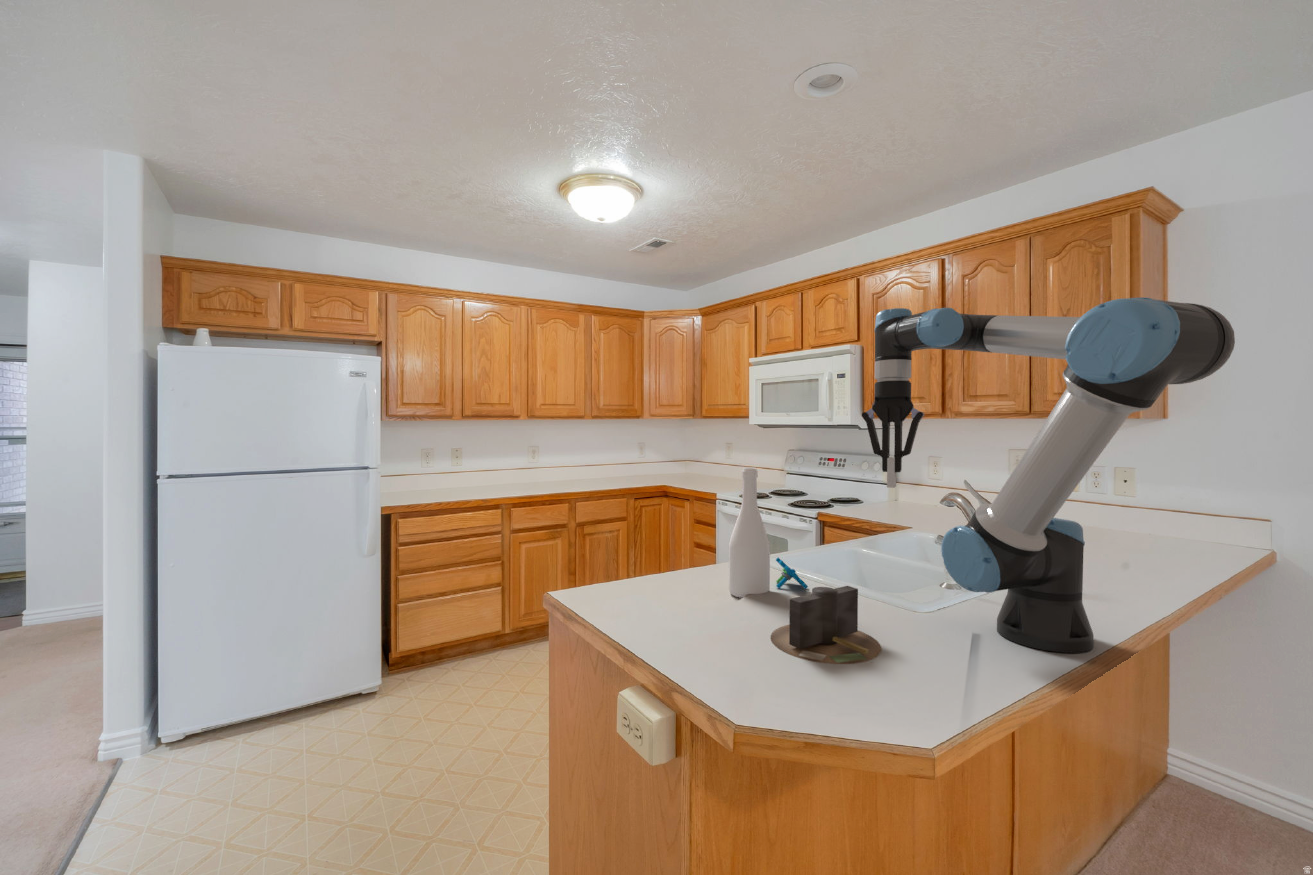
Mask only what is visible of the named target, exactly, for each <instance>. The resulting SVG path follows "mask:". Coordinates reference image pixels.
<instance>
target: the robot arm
mask: <svg viewBox="0 0 1313 875" xmlns="http://www.w3.org/2000/svg"><path fill="white" fill-rule="evenodd" d="M874 323H875V324H874V325H875V326H874V330H873V332H874V380H877V381H876V382H875V383H874V400H873V403H872V404H871V408H870V409H868V410H867V411H863V412H862V413H861V417H862V418H863V420H864V421H865V423H866V427H867V431H868V436H869V438H870V443H871V448H872V452H873V454H874V455H877V456H880V457H881V458H882V459H881V461H882V462H881V466H882V467H881V470H882V472H883V473H886V488H892V489H893V488H895V489H896V487H897V473H901V472H902V466H903V465H902V462H903V461H902V460H903V457H905V456H908V455H910V454H911V453H912V448H913V445H914V442H915V439H916V436H917V430H918V427H919V423H920V422H921V421H922V419H923V418H924V416H925V412H923V411H920V410H918V409H916V408H915V406H914V403H913V401H912V382H911V381H910V379H912V359H913V358H912V352H914V351H920V350H927V349H928V350H930V349H932V350H947V351H948V350H951V351H969V352H980V353H991V354H992V353H995V354H1003V355H1005V354H1006V355H1015V356H1017V355H1018V356H1025V357H1038V358H1046V359H1059V360H1065V361H1066V363H1067V366H1066V368H1065V369H1064V370H1063V372H1062V378H1063V380H1064V382H1065V384H1066V389H1065V390H1064V392H1063V393H1062V395H1061V396H1060V397H1059V399H1058V401H1057V402H1056V404H1055V405H1054V407H1053V409H1052V410H1051V411H1050V413H1049V414H1048V417H1047V418H1045V419H1046V420H1045V421H1044V422H1043V424H1042V426H1041V427H1040V429H1039V430H1038V431H1037V433H1036V435H1035V437H1034V438H1033V440H1032V441H1031V443H1030V444H1029V445H1028V447H1027V449H1026V450H1025V452H1024V453H1023V455H1022V456H1021V457H1020V458H1021V459H1019V462H1018V463H1017V464H1016V466H1015V467H1014V469H1013V471H1012V472H1011V473H1010V475H1009V477H1008V479H1007V480H1006V481H1005V483H1004V484H1003V486H1002V487H1001V489H1000V490H999V492H998V493H997V495H996V497H995V499H994V500H993V502H992V503H984V504H980V505H979V506H978V507H977V508H976V510H975V511H974V513H973V514H972V516H971V517H970V519H969V520H968V522H967V524H965V525H956V526H955V527H952V528H950V529H949V530H948V531H947V532H946V533H945V534H944V536H943V538H942V541H941V548H940V549H941V550H940V552H941V557H942V560H943V564H944V566H945V569H946V570H947V573H948V574H949V576H950V577H951V579H953V581H954V582H955V583H956V584H957V585H958V586H959V587H961V588H963V589H965V590H966V591H969V592H972V593H973V592H974V593H988V594H989V593H994V592H998V591H1005V590H1007V593H1006V595H1005V598H1004V601H1003V603H1002V605H1001V607H1000V611H999V612H998V614H997V618H996V632H997V633H998V634H999V635H1000V636H1002V637H1003V638H1005V639H1007V640H1009V641H1011V642H1013V643H1015V644H1019V645H1023V646H1024V647H1025V646H1026V647H1029V648H1033V649H1037V650H1042V651H1046V652H1047V651H1049V652H1054V653H1065V654H1066V653H1067V654H1071V653H1073V654H1077V653H1078V654H1079V653H1085V652H1088V651H1091V650H1093V648H1094V639H1095V638H1094V632H1093V628H1092V627H1091V624H1090V620H1089V618H1088V615H1087V613H1086V610H1085V606H1084V604H1083V590H1084V588H1083V584H1084V582H1083V581H1084V580H1083V579H1084V547H1085V543H1086V542H1085V540H1084V529H1083V526H1082V525H1081V524H1080V523H1078V522H1076V521H1075V520H1070V519H1065V518H1057V517H1055V516H1056V515H1057V513H1058V512H1059V511H1060V509H1061V508H1062V507H1063V506H1064V504H1065V503H1066V501H1067V500H1068V498H1069V497H1070V496H1071V495H1072V493H1073V492H1074V491H1075V489H1076V488H1077V486H1078V485H1079V484H1080V482H1081V481H1082V479H1083V478H1084V477H1085V476H1086V474H1087V473H1088V471H1090V469H1091V467H1092V466H1093V465H1094V463H1095V462H1096V461H1097V459H1098V458H1099V457H1100V456H1101V454H1102V453H1103V452H1104V450H1105V448H1106V447H1107V446H1108V444H1109V443H1110V441H1111V440H1112V439H1113V438H1114V436H1115V435H1116V433H1117V432H1118V431H1119V430H1120V429H1121V427H1122V426H1123V424H1124V423H1125V422H1126V421H1127V419H1128V418H1129V416H1130V415H1131V414H1133V413H1136V412H1141V411H1145V410H1149V409H1151V407H1152V406H1153V404H1154V403H1155V402H1156V401H1157V399H1159V397H1160V396H1161V394H1162V393H1163V392H1164V390H1165V389H1166V387H1167V386H1169V385H1185V384H1190V383H1193V382H1197V381H1200V380H1203V379H1205V378H1208V377H1209V376H1212V375H1213V374H1214V373H1215V372H1217V371H1218V370H1220V369H1221V368H1222V367H1224V365H1225V364H1226V363H1227V361H1229V359H1230V357H1231V355H1232V354H1233V351H1234V348H1235V343H1236V340H1235V339H1236V338H1235V331H1234V328H1233V327H1232V325H1231V324H1232V323H1231V322H1230V321H1229V320H1228V319H1227V318H1226V317H1225V315H1223V314H1222V313H1221V312H1219V311H1218V310H1215V309H1214V308H1211V307H1209V306H1206V305H1203V304H1198V303H1191V302H1190V303H1188V302H1176V301H1169V300H1163V299H1162V300H1161V299H1154V298H1151V297H1142V296H1141V297H1139V296H1138V297H1129V298H1128V297H1127V298H1126V297H1125V298H1116V299H1112V300H1109V301H1106V302H1102V303H1100V304H1098V305H1096V306H1094V307H1092V308H1091V309H1089V310H1087V311H1086V312H1085V313H1084V314H1082V315H1081V316H1048V315H1045V316H1040V315H996V314H990V315H989V314H972V313H971V314H970V313H960V312H958V311H957V310H955V309H954V308H952V307H941V308H940V307H939V308H937V307H936V308H932V309H929V310H926V311H923V312H919V313H914V314H913V312H912V310H910V309H909V308H901V307H900V308H897V307H895V308H889V309H883V310H880V311H879V312H877V314H876V316H875V322H874ZM910 414H911V416H910V417H911V419H912V420H911V423H910V426H909V429H908V434H907V437H906V442H905V445H904V447H903V425H904V424H903V422H904V421H905V420H906V418H908V416H909V415H910ZM875 415H876V416H877V418H878V419H879V420H880V422H881V445H880V441H879V437H878V433H877V428H876V425H875V421H874V418H875ZM891 423H894V455H893V457H891V454H890V443H891V436H890V435H891V434H890V433H891V431H890V430H891Z"/></svg>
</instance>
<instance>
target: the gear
mask: <svg viewBox="0 0 1313 875" xmlns="http://www.w3.org/2000/svg"><path fill="white" fill-rule="evenodd" d="M775 561H776V562H777V563H778V564H779V566H780V567H781V568H782V572H781V573H780V574H781V575H780V576H779V578H778V579H777V580H776V581H775V582H776V583H777V584H776V585H775V586H776V587H777V589H781V588H782V587H783V586H784V585H785V584H786V583H787V581H790V580H791V579H794V580H795V581H796V582H797V583H798V584H799V585H800V586H801V587H803V588H804V589H805V590H806V589H808V587H809V586H808V584H806V583H805V582H804V580H802V578H800V577H799V575H798V574H797V572H796V570H795V569H794V568H791V567H789V566H788V565H787V564H786V563H785V562H784V561H783V560H782V559H780V558H779V557H777V558H776V559H775Z"/></svg>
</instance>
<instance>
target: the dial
mask: <svg viewBox="0 0 1313 875" xmlns="http://www.w3.org/2000/svg"><path fill="white" fill-rule="evenodd" d="M839 638H841V639H843V640H846V641H848V642H851V643H853V644H856V645H858V646H861V647H863V648H866V649H868V653H867V654H864V653H861V652H859V651H856V650H854V649H852V648H849V647H847V646H844V645H842V644H839V643H836V644H833V645H822V644H815V645H812V646H808V647H805V648H802V649H798V648H796V647H794V646H792V645H789V624H785V625H782V626H780V627H777V628H776V629H774V630H773V631H772V632H771V634H770V641H771V643H772V645H773V646H775V647H776V648H777V649H778V650H780V651H782V652H783V653H785V654H787V655H790V656H793V657H795V658H798V659H802V660H806V661H810V662H814V663H815V662H816V663H820V664H821V663H822V664H831V665H850V664H851V665H853V664H858V663H859V664H860V663H865V662H868V661H871V660H874V659H875V658H877V657H878V656H880V654H881V652H882V646H881V644H880V643H879V641H878V640H877V639H876V638H874V637H873V636H871V635H869V634H867V633H866V632H863V631H860V630H858V632H855V633H852V634H849V635H845V636H842V637H839Z"/></svg>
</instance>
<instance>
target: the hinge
mask: <svg viewBox="0 0 1313 875" xmlns="http://www.w3.org/2000/svg"><path fill="white" fill-rule="evenodd" d="M858 611H859V589H858V588H856V587H853V586H850V585H844V586H839V587H836V588H832V587H828V586H816V587H813V588H812V589H811V593H809V594H805V595H800V596H798V597H797V596H796V597H793V598H790V599H789V624H788V625H789V645H792V646H794V647H796V648H798V649H802V648H805V647H808V646H812V645H815V644H822V645H833V644H836V643H839V644H842V645H844V646H847V647H849V648H852V649H854V650H856V651H859V652H861V653H864V654H867V653H868V649H866V648H863V647H861V646H858V645H856V644H853V643H851V642H848V641H846V640H843V639H841V638H839V637H842V636H845V635H849V634H852V633H855V632H858V631H859V630H858V626H859V624H858V619H859V618H858V615H859V614H858V613H859V612H858Z"/></svg>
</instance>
